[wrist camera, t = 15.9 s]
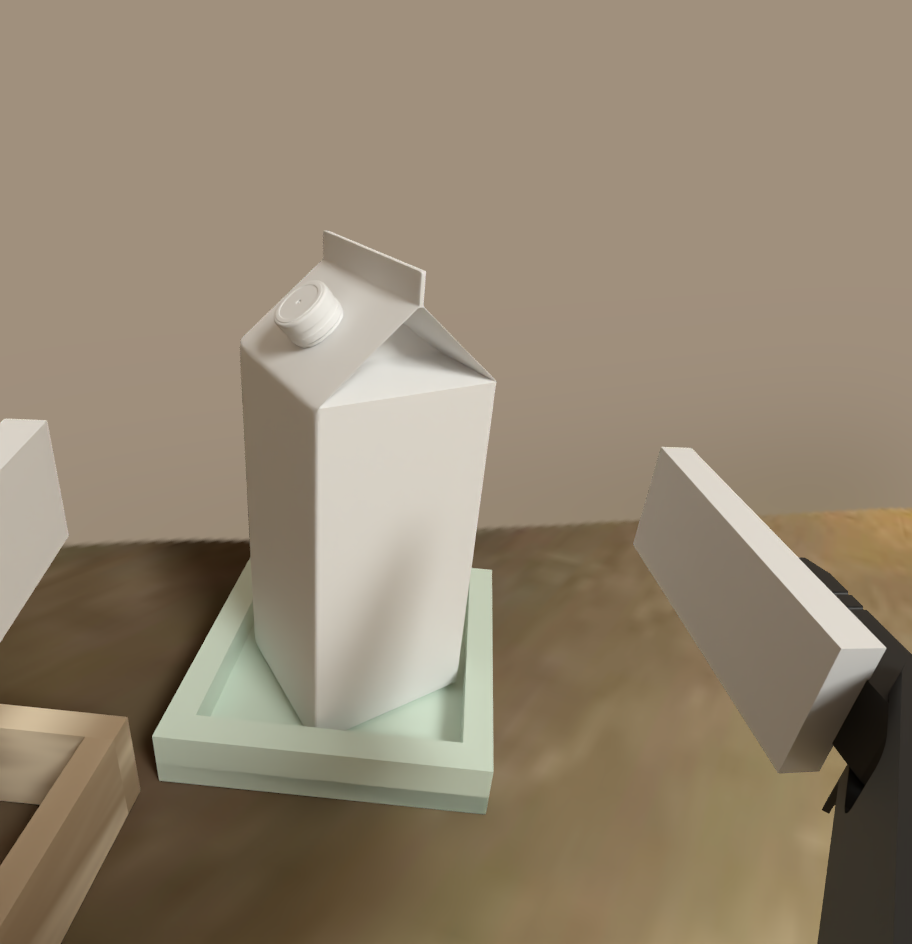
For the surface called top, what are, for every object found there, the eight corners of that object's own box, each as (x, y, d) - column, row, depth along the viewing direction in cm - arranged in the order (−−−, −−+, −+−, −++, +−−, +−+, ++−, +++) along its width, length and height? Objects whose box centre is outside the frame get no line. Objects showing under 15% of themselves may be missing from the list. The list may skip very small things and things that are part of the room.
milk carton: (383, 599, 36) (405, 230, 28) (457, 685, 31) (513, 268, 22) (253, 642, 32) (231, 230, 24) (314, 748, 27) (315, 275, 19)
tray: (159, 780, 27) (152, 736, 25) (258, 581, 38) (256, 545, 37) (485, 814, 27) (493, 771, 26) (486, 605, 38) (491, 570, 37)
